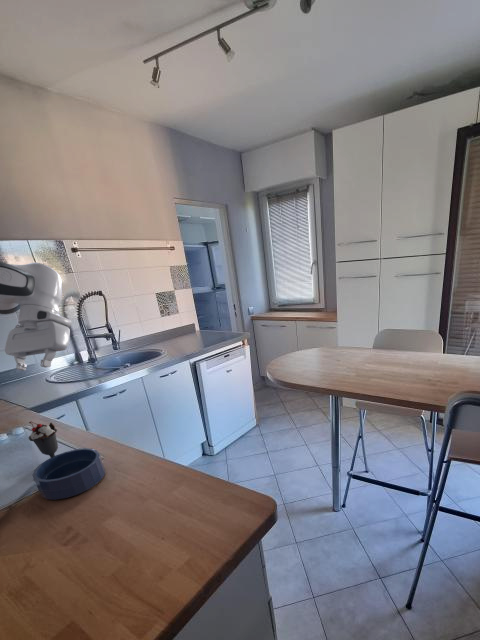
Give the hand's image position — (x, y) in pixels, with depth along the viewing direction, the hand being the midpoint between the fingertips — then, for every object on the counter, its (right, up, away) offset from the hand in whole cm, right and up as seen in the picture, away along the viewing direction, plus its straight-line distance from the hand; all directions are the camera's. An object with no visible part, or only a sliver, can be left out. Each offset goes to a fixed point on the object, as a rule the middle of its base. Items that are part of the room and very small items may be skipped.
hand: (33, 368), depth 92 cm
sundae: (+3, -28, +5) cm, 28 cm away
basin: (+14, -31, -4) cm, 34 cm away
